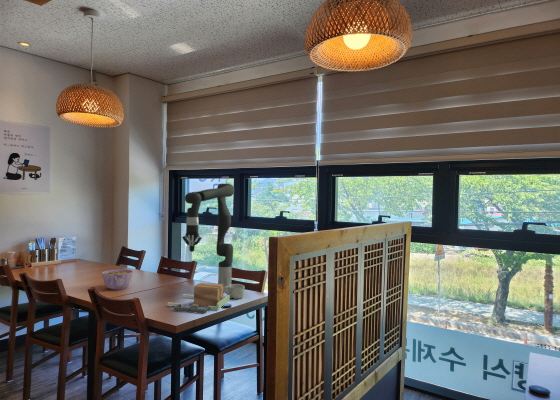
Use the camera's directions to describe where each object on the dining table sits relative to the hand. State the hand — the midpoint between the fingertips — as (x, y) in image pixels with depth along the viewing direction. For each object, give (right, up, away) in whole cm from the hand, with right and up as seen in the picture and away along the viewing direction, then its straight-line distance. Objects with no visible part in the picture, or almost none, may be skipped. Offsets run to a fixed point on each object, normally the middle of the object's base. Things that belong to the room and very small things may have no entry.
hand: (191, 251), depth 243 cm
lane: (+5, -31, -10) cm, 33 cm away
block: (+12, -32, -7) cm, 34 cm away
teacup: (+25, -32, +9) cm, 42 cm away
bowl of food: (-58, -30, +26) cm, 70 cm away
